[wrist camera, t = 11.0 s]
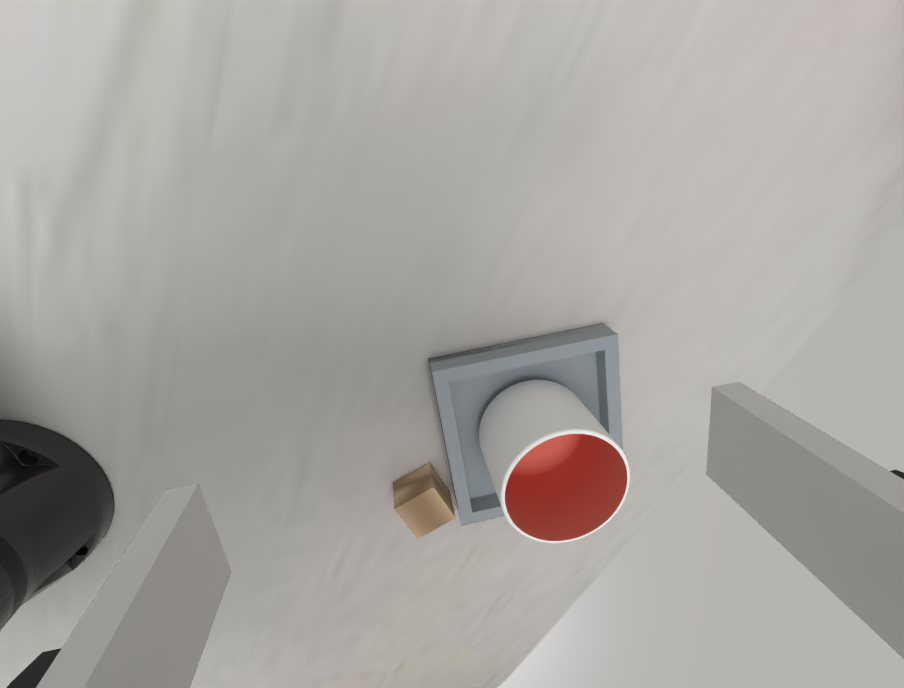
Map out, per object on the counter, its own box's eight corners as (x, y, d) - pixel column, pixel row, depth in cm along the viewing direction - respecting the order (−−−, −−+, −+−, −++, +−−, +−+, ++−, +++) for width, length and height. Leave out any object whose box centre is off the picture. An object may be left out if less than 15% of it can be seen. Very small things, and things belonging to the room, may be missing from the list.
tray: (457, 505, 49) (461, 525, 46) (428, 358, 43) (432, 372, 41) (610, 470, 50) (624, 488, 47) (602, 323, 45) (617, 334, 42)
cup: (574, 467, 48) (620, 539, 39) (473, 472, 47) (496, 548, 38) (586, 372, 45) (640, 427, 36) (478, 375, 44) (505, 433, 34)
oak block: (414, 510, 49) (417, 538, 45) (393, 481, 47) (394, 509, 44) (449, 490, 49) (455, 517, 45) (429, 461, 47) (433, 487, 43)
